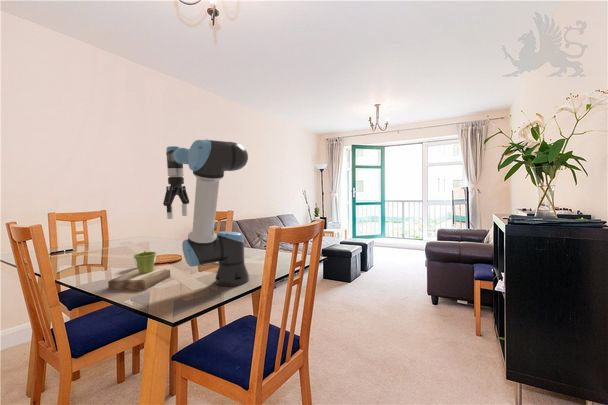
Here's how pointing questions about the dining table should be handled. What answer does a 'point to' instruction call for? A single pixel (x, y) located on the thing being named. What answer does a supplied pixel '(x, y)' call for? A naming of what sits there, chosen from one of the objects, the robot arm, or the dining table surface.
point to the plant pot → (145, 261)
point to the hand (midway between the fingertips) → (177, 217)
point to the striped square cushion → (139, 279)
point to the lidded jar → (136, 261)
